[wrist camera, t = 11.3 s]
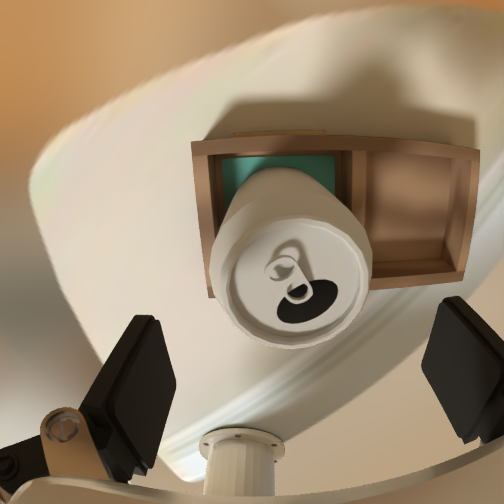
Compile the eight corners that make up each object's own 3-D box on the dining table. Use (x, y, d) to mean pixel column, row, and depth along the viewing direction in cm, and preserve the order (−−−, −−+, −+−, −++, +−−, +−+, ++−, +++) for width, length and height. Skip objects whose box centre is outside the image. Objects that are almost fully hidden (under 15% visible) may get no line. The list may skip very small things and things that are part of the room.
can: (266, 274, 25) (269, 383, 14) (211, 201, 22) (164, 270, 11) (344, 226, 23) (408, 309, 12) (294, 145, 21) (331, 158, 10)
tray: (441, 262, 25) (462, 280, 21) (215, 274, 26) (208, 298, 22) (453, 142, 21) (480, 146, 17) (202, 136, 22) (190, 137, 18)
